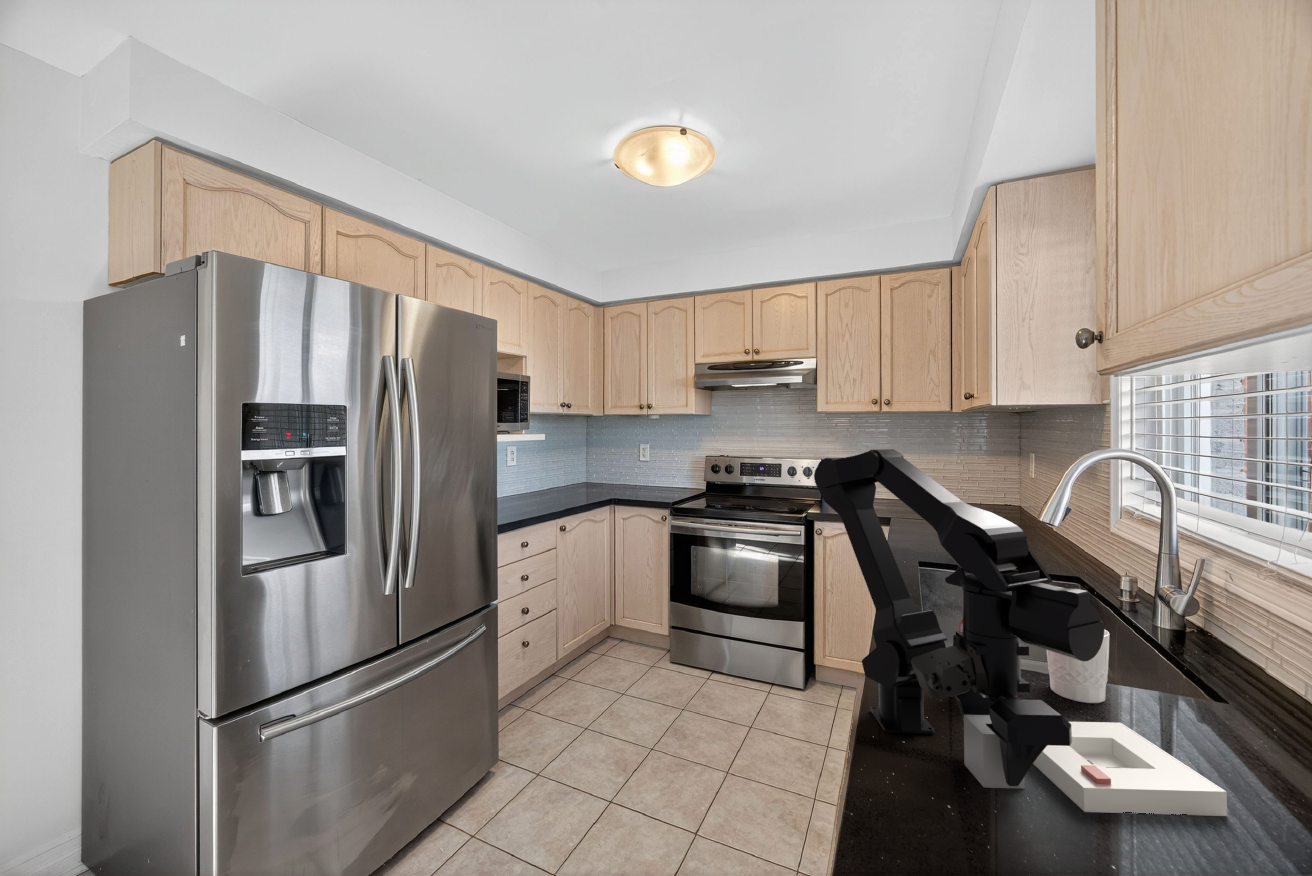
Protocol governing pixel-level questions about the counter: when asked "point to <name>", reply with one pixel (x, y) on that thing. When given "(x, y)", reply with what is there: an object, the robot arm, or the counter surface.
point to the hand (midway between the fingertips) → (993, 764)
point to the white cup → (1080, 675)
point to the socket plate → (1127, 774)
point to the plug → (984, 753)
